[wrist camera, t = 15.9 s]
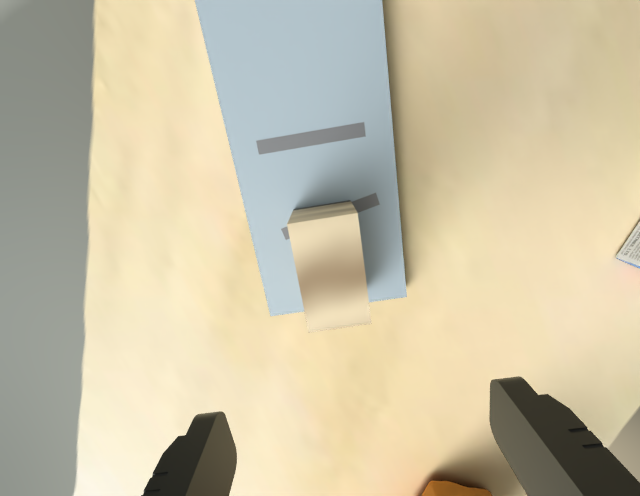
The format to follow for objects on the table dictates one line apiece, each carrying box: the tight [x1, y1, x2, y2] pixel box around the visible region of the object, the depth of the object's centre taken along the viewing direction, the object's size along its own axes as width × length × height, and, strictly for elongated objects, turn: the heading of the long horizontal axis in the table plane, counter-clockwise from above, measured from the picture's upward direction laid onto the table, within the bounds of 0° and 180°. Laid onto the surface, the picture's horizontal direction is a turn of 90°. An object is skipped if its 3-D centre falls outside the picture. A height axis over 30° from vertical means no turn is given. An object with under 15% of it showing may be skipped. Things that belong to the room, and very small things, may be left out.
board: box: [195, 0, 407, 316], centre depth 24 cm, size 24×12×2 cm, turn 9°
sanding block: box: [287, 200, 372, 332], centre depth 23 cm, size 8×4×5 cm, turn 9°
